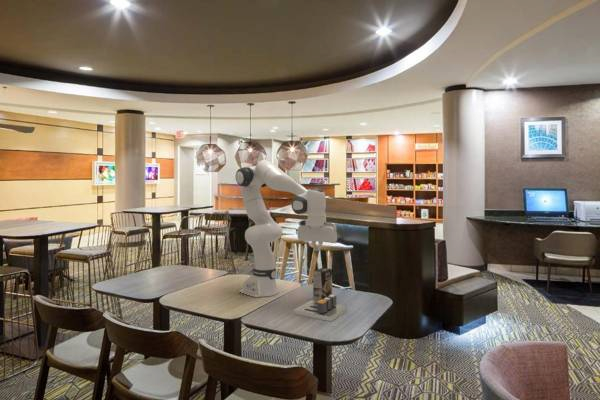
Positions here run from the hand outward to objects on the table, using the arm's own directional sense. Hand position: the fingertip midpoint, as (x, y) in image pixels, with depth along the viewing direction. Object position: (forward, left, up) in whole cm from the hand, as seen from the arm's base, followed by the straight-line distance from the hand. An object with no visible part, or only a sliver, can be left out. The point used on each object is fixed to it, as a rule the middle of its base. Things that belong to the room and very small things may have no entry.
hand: (317, 250), depth 183 cm
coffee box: (-6, +15, -29) cm, 33 cm away
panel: (+2, -2, -29) cm, 29 cm away
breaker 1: (+6, -2, -27) cm, 27 cm away
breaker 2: (+6, +3, -27) cm, 27 cm away
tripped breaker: (+6, -7, -27) cm, 28 cm away
